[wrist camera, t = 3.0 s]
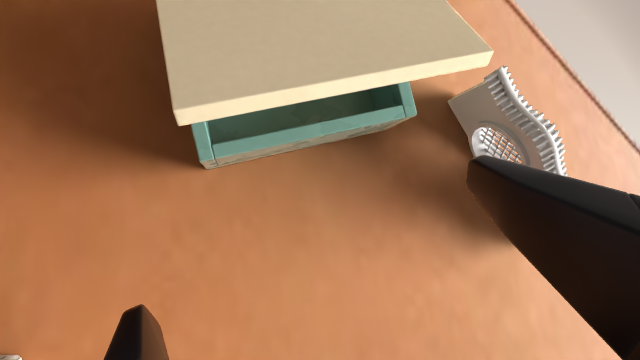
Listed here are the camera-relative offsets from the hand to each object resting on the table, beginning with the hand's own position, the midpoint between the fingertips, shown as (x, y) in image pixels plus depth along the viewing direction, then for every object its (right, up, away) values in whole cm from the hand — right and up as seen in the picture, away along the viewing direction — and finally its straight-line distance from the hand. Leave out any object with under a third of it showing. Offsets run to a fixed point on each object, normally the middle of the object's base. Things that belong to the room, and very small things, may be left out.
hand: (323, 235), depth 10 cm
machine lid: (-1, +8, +7) cm, 11 cm away
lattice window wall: (+12, +2, +17) cm, 21 cm away
